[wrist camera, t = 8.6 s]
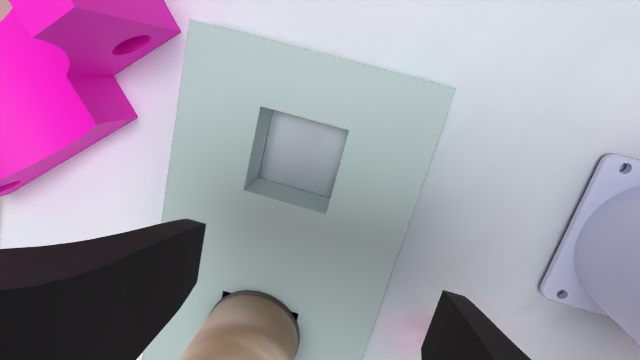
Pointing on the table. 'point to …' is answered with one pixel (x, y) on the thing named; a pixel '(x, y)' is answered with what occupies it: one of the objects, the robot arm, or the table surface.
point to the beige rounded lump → (246, 330)
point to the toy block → (68, 77)
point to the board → (290, 203)
